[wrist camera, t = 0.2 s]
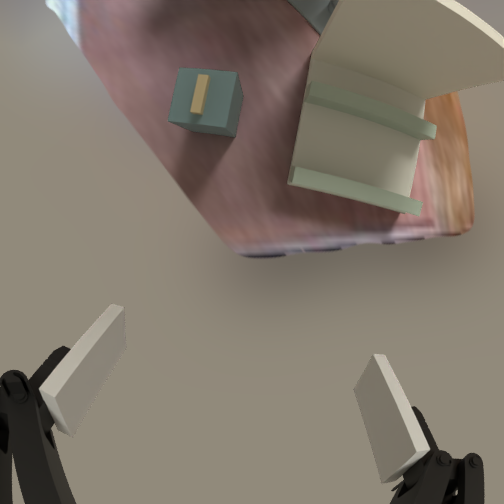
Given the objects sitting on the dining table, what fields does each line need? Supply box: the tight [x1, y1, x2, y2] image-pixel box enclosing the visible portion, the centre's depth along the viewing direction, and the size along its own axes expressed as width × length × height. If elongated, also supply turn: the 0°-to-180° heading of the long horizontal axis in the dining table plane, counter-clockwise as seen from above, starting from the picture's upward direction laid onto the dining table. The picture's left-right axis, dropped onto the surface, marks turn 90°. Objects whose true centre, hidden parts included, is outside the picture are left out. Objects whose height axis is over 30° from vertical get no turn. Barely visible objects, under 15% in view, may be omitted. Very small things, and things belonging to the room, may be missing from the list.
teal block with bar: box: [168, 68, 243, 137], centre depth 29 cm, size 6×6×12 cm
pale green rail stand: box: [287, 0, 504, 216], centre depth 24 cm, size 20×18×24 cm
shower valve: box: [287, 0, 339, 36], centre depth 27 cm, size 12×6×15 cm
